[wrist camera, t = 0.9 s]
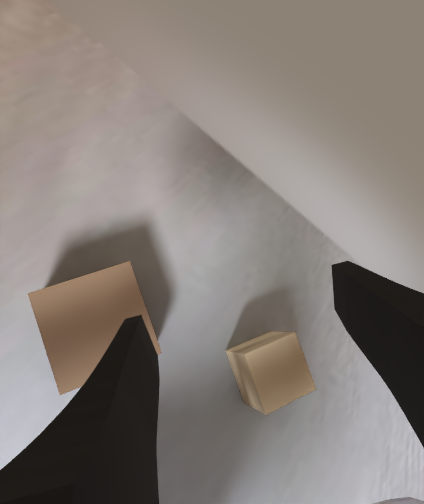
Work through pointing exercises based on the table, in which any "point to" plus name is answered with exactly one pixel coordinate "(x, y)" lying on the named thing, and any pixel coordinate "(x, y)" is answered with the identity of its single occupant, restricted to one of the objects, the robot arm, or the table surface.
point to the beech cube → (270, 370)
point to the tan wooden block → (86, 320)
